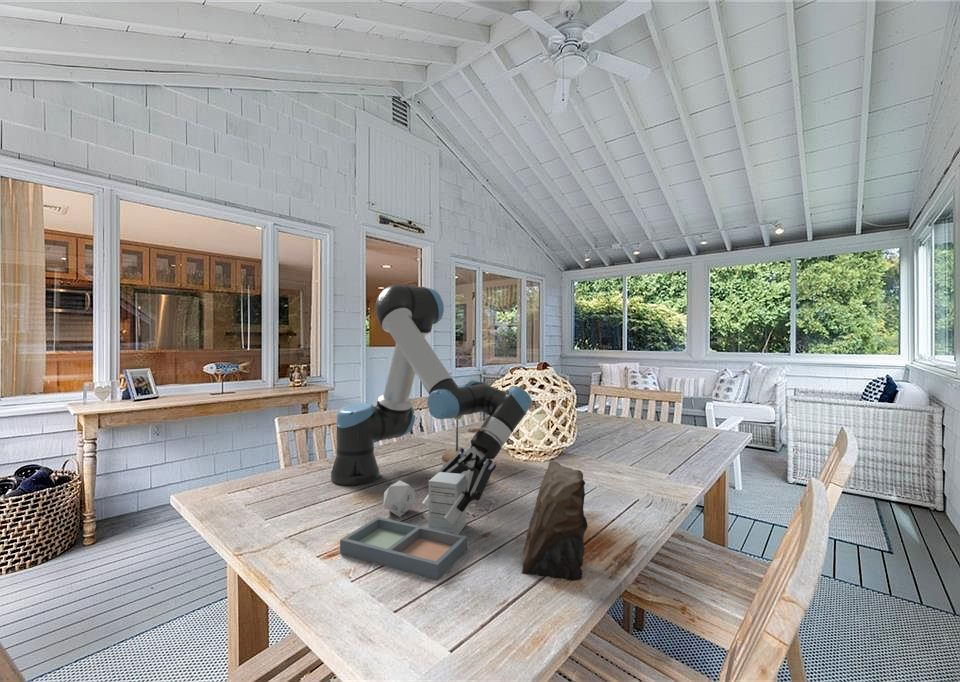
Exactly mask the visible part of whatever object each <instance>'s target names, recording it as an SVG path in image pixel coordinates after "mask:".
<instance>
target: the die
mask: <svg viewBox="0 0 960 682" xmlns="http://www.w3.org/2000/svg"><path fill="white" fill-rule="evenodd" d="M416 504H417V503H416V490H415V489H414V488H413V487H412V486H411V485H410V484H408V483H407V482H404V481H402V480H399V479H398V480H397V481H396V482H394V483H392V484H390V486H389V487H388V488H387V489H386V490H385V491H384V492H383V506H382V507H384V508H385V509H387V510H388V511H389V512H391V513H392V514H394V515H395V516H396V517H398V518H401V517H402V516H403V515H405V514H406V513H407V512H409V511H410V510H411V509H412V508H413V507H414V506H415V505H416Z"/></svg>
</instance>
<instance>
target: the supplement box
mask: <svg viewBox="0 0 960 682" xmlns="http://www.w3.org/2000/svg"><path fill="white" fill-rule="evenodd" d="M466 485H467V481H466V475H465V474H457V473H446V472H439V473H438V474H436V473H435V475H434V476H433V477H432V478H431V479H429V480H428V494H429V508H428V528H430V529H435V530H440V531H444V532H449V533H453V534H458V535H460V533H461V532H462V530H463V529H464V528H465V526H466V525H467V507H466V508H465V510H464V511H463V512H461V514H460V515H459V516H458V518H457V519H456V521H455V522H454V524H453V525H452V524H451V523H450V522H449V521H447V520H446V519H445V518H444V517H445V515H446V514H447V512H448V511H449V509H450V508H451V507H452V505H453V504H454V502H455V501H456V500H457V498H458V497H459V495H460V494H463V493H462V491H465V489H466ZM463 495H464V494H463ZM464 496H465V495H464Z"/></svg>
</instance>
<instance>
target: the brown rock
mask: <svg viewBox="0 0 960 682" xmlns="http://www.w3.org/2000/svg"><path fill="white" fill-rule="evenodd" d="M542 479H543V480H542V482H541V484H540V487H539V490H538V494H537V497H536V502H535V507H534V510H533V513H532V516H531V518H530V520H529V525H528V528H527V534H526V539H525V543H524V547H523V552H522V553H523V556H522V563H521V565H522V567H521V568H522V571H521V574H523V575H530V576H537V577H544V578H545V577H546V578H552V579H562V580H564V581H569V582H571V581H573V582H574V581H580V580H582V579H583V575H584V574H583V569H582V567H583V565H584V555H585V550H586V549H585V543H584V535H585V534H586V530H588V527H589V525H588V522H587V518H586V516H585V511H584V505H585V497H586V492H585V485H586V481H585V480H584V473H583V472H582V470H580V469H573V468H572V467H566V466H564V465H561V463H559V462H558V461H554V460H550V461H549V462H548V466H547V469H546V471H545V474H544V476H543V478H542Z"/></svg>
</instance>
